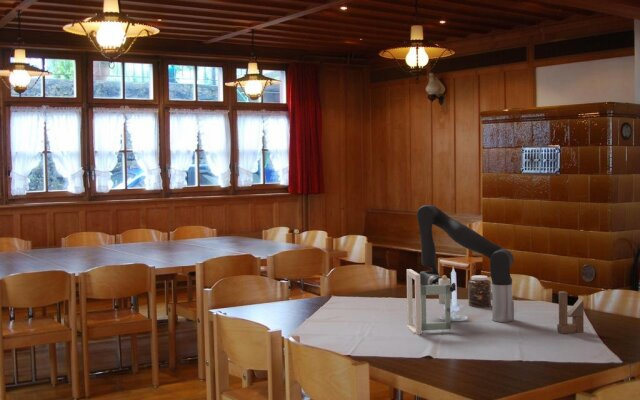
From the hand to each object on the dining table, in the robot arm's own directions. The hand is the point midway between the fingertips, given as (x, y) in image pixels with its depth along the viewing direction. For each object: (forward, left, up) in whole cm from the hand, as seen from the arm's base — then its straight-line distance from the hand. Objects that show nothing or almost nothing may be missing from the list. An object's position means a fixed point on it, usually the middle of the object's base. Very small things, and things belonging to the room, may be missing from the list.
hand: (446, 290), depth 352 cm
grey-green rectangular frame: (+6, +6, -17) cm, 19 cm away
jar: (-31, -49, -18) cm, 61 cm away
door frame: (+15, -1, -18) cm, 23 cm away
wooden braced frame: (-50, +18, -18) cm, 56 cm away
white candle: (0, -3, -6) cm, 7 cm away
